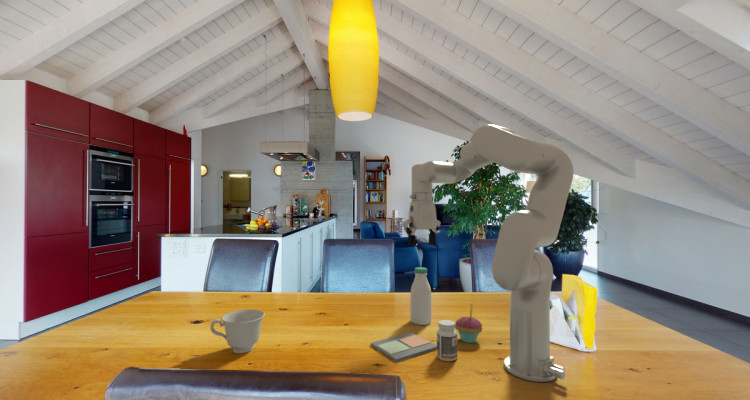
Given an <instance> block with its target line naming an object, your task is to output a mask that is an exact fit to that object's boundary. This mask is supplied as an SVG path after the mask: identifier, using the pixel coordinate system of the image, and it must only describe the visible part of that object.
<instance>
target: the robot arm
mask: <svg viewBox="0 0 750 400" xmlns="http://www.w3.org/2000/svg"><path fill="white" fill-rule="evenodd" d="M470 139H471V140H470V142H468V143H467V144H464V145H463V146H462V147H461V149H460V152H459V155H460V158H459V159H457V160H455V161H453V162H446V161H437V160H436V161H435V160H430V161H426V162H424V163H418V164H413V166H412V167H411V194H410V195H409V198H410V199H411V201H410V203H409V211H408V218H407V219H406V220H404V221H403V222H402V223H401V225H402V227H403V228H404V231H405V233H406V235H407V237H408V238H407V243H408V247H415V246H416V235H415V233H416V231H417V230H421V231H422V230H428V232H429V233H428V245H431V246H432V245H433V246H435V245H437V234H438V231H439V229H440V226H441V223H442V222H441V221H440V220H439V219H437V208H436V204H435V202H434V201H433V184H443V185H445V184H447V185H451V184H455V183H458V182H460V181H463V180H466V179H468V178H470V177H472V175H474V173H475V172H476V171H477V170H479V169H481V168H483V167H486V166H489V165H492V164H493V163H495V164H497V165H499V166H501V167H504V169H507V170H510V171H512V172H515V173H523V174H531V175H536V176H537V178H536V179H537V180H535V182H534V184H533V185H532V188H531V189H530V192H529V196H528V201H527V204H526V206H525V209H524V210H523V209H522V210H517V211H516V210H515V211H514V212H511V213H509V215H507V216H506V217H505V219H504V220H503V222H502V224H501V226H500V229H499V232H498V237H497V241H496V244H495V248H494V254H493V258H492V262H491V274H492V278H493V280H494V281H495V282H494V283H496V284H497V286H499V287H500V288H501V289H503V290H505V291H510V296H509V297H510V299H509V356H507V357H505V358H504V359H503V366H504V369H505V370H506V371H507V372H508V373H510V374H511V375H513V376H515V377H516V378H519V379H523V380H526V381H530V382H535V383H537V382H538V383H545V382H546V383H547V382H551V381H553V380H555V379H556V378H557V379H560V380H565V377H566V373H565V371H566V370H565V367H564V366H561V365H559V364H558V365H557V364H556V363H555V357H554V356H551V349H550V348H551V345H550V344H551V342H550V340H551V339H550V337H551V333H550V332H551V330H550V327H551V325H550V324H551V323H550V321H551V320H550V313H551V312H550V311H551V309H550V308H551V307H550V305H551V304H550V303H551V289H552V285H553V276H554V267H553V264H552V262H551V260H550V258H549V257H548V256H547V255H546V254H545V253H544V252H542V251H540V250H537V248H544V247H548V246H550V245H552V244H553V243H554V242H555V241H557V240H556V239H557V238H558V234H559V231H560V229H561V223H562V220H563V217H564V212H565V210H566V205H567V200H568V196H569V193H570V190H571V187H572V184H573V179H574V166H573V162H572V159H571V158H570V157H569V155H568V154H567V153H566V152H565V151H564V150H562V149H561V148H559V147H558V146H556V145H553V144H552V143H548V142H546V141H545V142H544V141H541V140H535V139H530V138H527V137H524V136H520V135H518V134H517V133H516V132H515V131H514V130H512V129H510V128H508V127H505V126H501V125H500V126H499V125H496V124H490V123H488V124H484V125H482V126H481V125H480V126H479V127H478V128H476V129H475V130H474V132H473V133H472V135H471V138H470Z"/></svg>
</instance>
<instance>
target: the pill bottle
mask: <svg viewBox="0 0 750 400" xmlns="http://www.w3.org/2000/svg"><path fill="white" fill-rule="evenodd" d="M455 323H456V321H452V320H449V319H441V320H439V321H438V323H437V324H438V329H437V331H436V345H437V349H436V356H437V358H438V359H440V360H441V361H444V362H454V361H456V360H457V358H458V333H457V330H456V328H455Z"/></svg>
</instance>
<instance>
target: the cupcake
mask: <svg viewBox="0 0 750 400" xmlns="http://www.w3.org/2000/svg"><path fill="white" fill-rule="evenodd" d="M473 305H474V304H473V303H470V308H469V310H470V311H469V316H462V317H460V318H458V319H457V320H456V321H455V331H458V334H459V337H460V340H461V341H463V343H469V344H472V343H473V344H474V343H476V342H477V338H478V336H479V334H480V333H482V331H483V324H482V323H481V321H479V319H476V318H475V317H473Z"/></svg>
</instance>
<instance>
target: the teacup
mask: <svg viewBox="0 0 750 400" xmlns="http://www.w3.org/2000/svg"><path fill="white" fill-rule="evenodd" d="M264 317H265V312H264V311H262V310H259V309H240V310H236V311H231V312H228V313H226V314H224V315H223V316H222V317H221V319H220V318H215V319H214V320H212V322H211V323H210V326H209V327H210V332H211V333H212V334H214V335H215V336H219V337H223V339H225V341H226V343H227V345H228V347H230V348H232V352H233V353H235V354H246V353H249V352H251V351H252V350H253V349H254V345H256V343H258V341H259V340H260V336H261V329H262V322H263V318H264ZM215 324H219V327H220V328H221V327H224V331H225V334H224V333H223V332H220V331H217V330H216V329H215V327H214V326H215Z"/></svg>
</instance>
